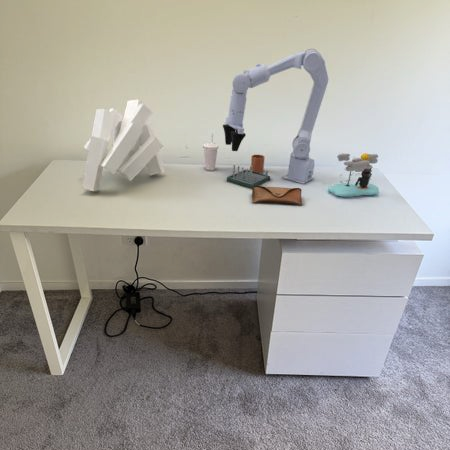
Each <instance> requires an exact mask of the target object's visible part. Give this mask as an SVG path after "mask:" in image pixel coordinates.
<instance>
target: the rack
mask: <svg viewBox="0 0 450 450" xmlns="http://www.w3.org/2000/svg"><path fill="white" fill-rule="evenodd" d="M232 170H233V171H232V174H231V175H229V176H227V177H226V182H227V183H231V184H234V185H238V186H241V187H244V188H247V189H251V190H253V187H254V186H262V185H263V184H265V183H267V182H269V181H271V175H268V173H269V171H268V170H266V171H265V174H264V173H257V172H254V171H252V167H251V166H249V168H245V169H244V166H243V167H241V170H240V166H239V165H238V166H237V172H236V165H235V164H233V169H232Z"/></svg>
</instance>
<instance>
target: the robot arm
mask: <svg viewBox="0 0 450 450" xmlns="http://www.w3.org/2000/svg"><path fill="white" fill-rule="evenodd" d="M302 67H303V69H304V70H305V71H306V72H307V73H308V74H309V76H310V78H311V79H312V81H313V84H312V87H311V91H310V94H309V98H308V101H307V104H306V107H305V110H304V114H303V117H302V120H301V124H300V127H299V130H298V131H297V135H296V136H295V137H294V138H293V140H292V145H291V146H292V152H291V153H290V157H289V162H288V163H289V164H288V171H287V175H284V176H283V177H282V178H283V179H284V180H288V181H291V182H295V183H299V184H301V185H304V184H307V183H308V182H310V181H311V180H313V179H314V178H313V175H314V169H315V159H313V158H311V157H310V152H311V146H310V144H311V140H312V135H313V131H314V127H315V124H316V121H317V118H318V115H319V111H320V108H321V106H322V102H323V99H324V96H325V94H326V90H327V86H328V83H329V75H328V71H327V66H326V61H325V59H324V58H323V56H322V54H321V53H320V52H319V51H318V50H317V49H315V48H307V49H306V50H302V51H298V52H295V53H293V54H290V55H288V56H286V57H284V58H282V59H280V60H277V61H276V62H273V63H271V64H270V65H267V64H265V63H260V62H259V63H257V64H255V66H254V67H252V68H250V69H248V70H247V69H244V70H243V72H241V73H237V74H236V75H235V77H234V78H233V80H232V91H231V95H230V103H229V109H228V116H227V117H226V118H225V121H224V124H222V128H223V133H224V141H225V143H224V144H225V145H227V146H231V151H232V152H238V151H239V148H240V146H241V143H242V141H243V140H244V138H245V137H246V135H247V134H246V133H245V128H244V123H243V122H244V117H245V110H246V104H247V94H248V89H249V88H250V89H253V88H255V87H258V86H260V85H263V84H265V83H267V82H269V80H270V78H271V76H274V75H276V74H279V73H281V72H284V71H287V70H289V69H292V68H293V69H299V70H301V69H302Z"/></svg>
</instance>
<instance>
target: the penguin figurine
mask: <svg viewBox="0 0 450 450" xmlns="http://www.w3.org/2000/svg"><path fill="white" fill-rule="evenodd" d="M336 157H337V159H338V162H343V161H344V162H343V165H344V166H346V167H345V168H344V169H343V170H345V171H346V172H349V174H348V179H346V182H340V183H336V184H333V185H330V186H328V187H327V191H329V192H330V193H331V194H334V195H336V196H339V197H345V198H348V197H357V196H374V195H377V194H380V190H379V187H378V186H377V185H375V184H373V183H370V180H371V177H372V175H373V173H372V172H373V170H372V169H373V165H372V164H377V163H378V158H379V155H378V154H377V153H376V154H375V153H367V152H365V153H362V154H361V156H360V157H354V158H352V159H350V158H351V154H350V153H338V154H337V156H336ZM354 172H355V173H357V176H359V177H358V178H357V180H356V182H355V183H350V182H351V181H352V180H351V176H352V175H355V173H354ZM339 176H340V177H341V176H342V174H339Z"/></svg>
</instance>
